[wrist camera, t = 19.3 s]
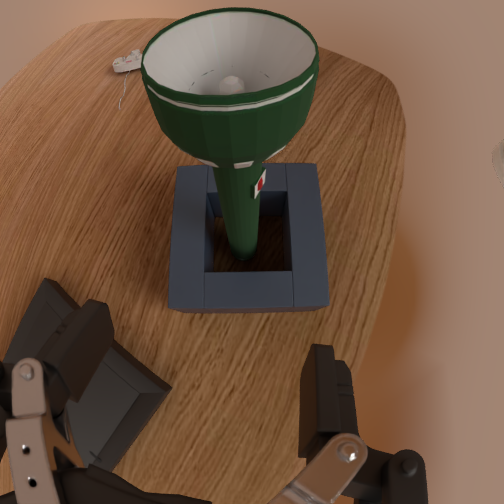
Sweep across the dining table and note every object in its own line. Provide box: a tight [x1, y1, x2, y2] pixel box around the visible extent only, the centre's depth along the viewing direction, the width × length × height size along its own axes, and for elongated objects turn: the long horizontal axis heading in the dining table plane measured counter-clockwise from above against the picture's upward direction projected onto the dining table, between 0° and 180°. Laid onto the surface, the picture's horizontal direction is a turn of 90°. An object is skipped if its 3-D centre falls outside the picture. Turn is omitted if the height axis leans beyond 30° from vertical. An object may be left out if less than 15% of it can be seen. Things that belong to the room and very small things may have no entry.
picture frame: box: [3, 278, 172, 472], centre depth 20 cm, size 16×3×21 cm
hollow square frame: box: [168, 163, 330, 313], centre depth 23 cm, size 11×11×5 cm
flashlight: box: [140, 7, 319, 261], centre depth 16 cm, size 5×5×20 cm
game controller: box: [113, 50, 142, 110], centre depth 31 cm, size 6×12×3 cm, turn 20°
